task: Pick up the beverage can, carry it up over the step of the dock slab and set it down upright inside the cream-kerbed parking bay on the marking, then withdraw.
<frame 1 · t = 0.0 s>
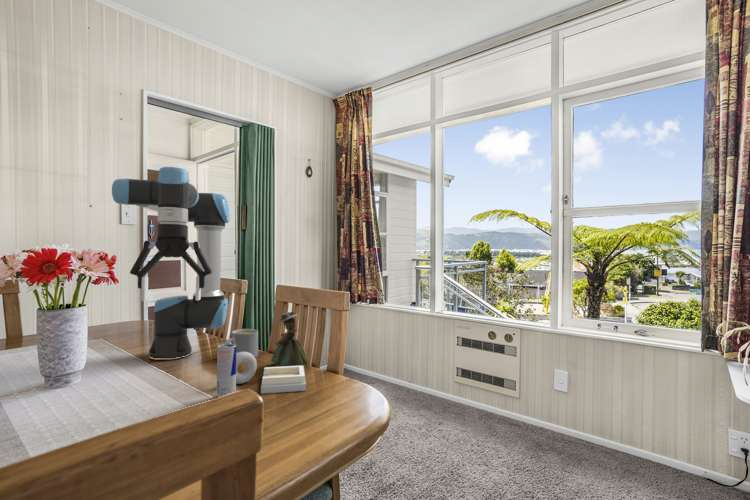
hand: (171, 300, 107), 28 cm above the table, fingers open, 13 cm apart
dock: (283, 383, 123), on the table
coffee mug: (240, 357, 151), on the table
beverage can: (226, 397, 111), on the table
donut: (241, 384, 122), on the table
figurine: (290, 366, 141), on the table
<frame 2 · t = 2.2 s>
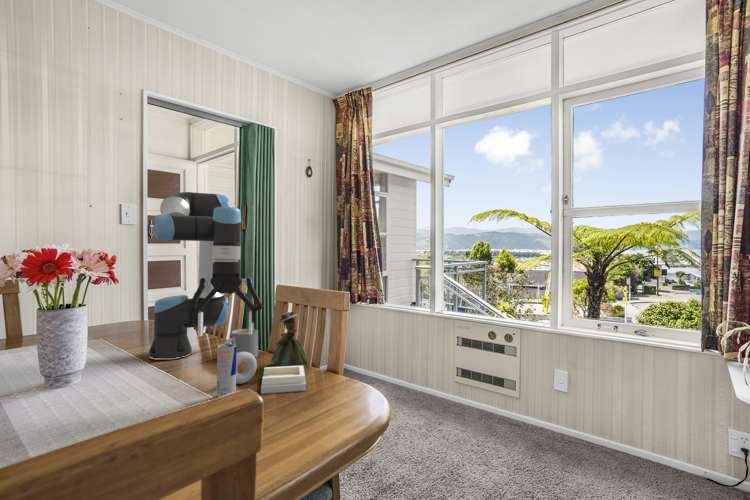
hand: (225, 335, 111), 18 cm above the table, fingers open, 13 cm apart
nothing on the table moved.
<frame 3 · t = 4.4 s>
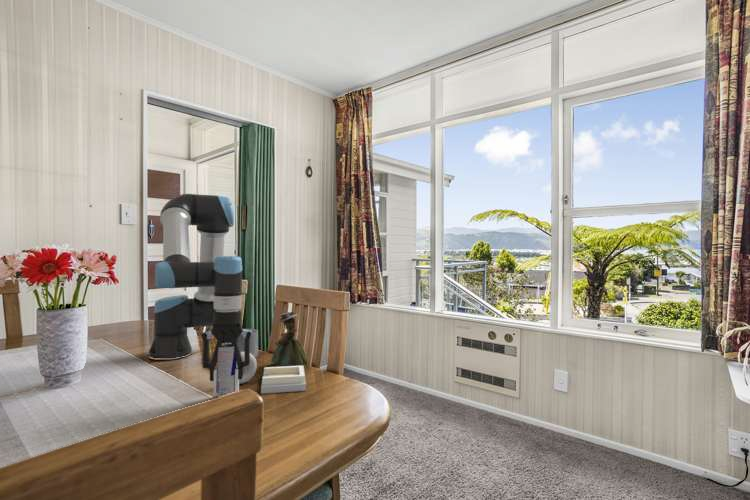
hand: (226, 390, 111), 2 cm above the table, fingers closed on beverage can, 5 cm apart
beverage can: (226, 397, 111), on the table, touching gripper
everything else where it was.
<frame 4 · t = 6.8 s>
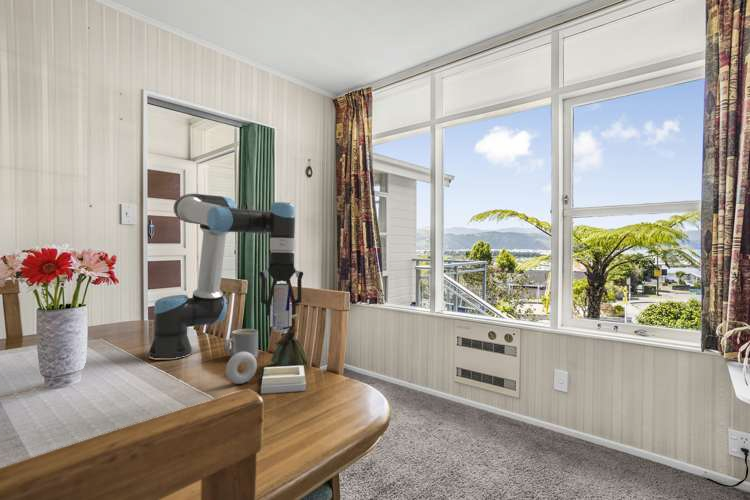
hand: (281, 325, 122), 19 cm above the table, fingers closed on beverage can, 5 cm apart
beverage can: (280, 331, 122), point 17 cm above the table, touching gripper
everything else where it was.
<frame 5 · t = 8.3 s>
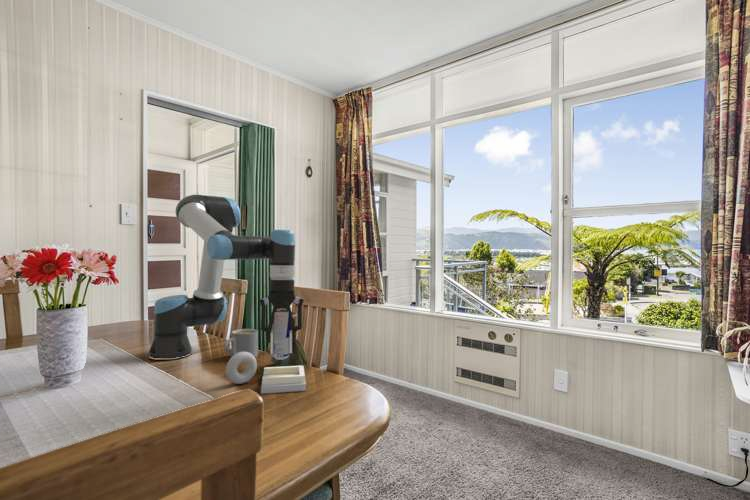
hand: (281, 352, 122), 10 cm above the table, fingers closed on beverage can, 5 cm apart
beverage can: (281, 358, 122), point 8 cm above the table, touching gripper
everything else where it was.
when the fingers open (5 cm above the table, at t = 9.5 s): beverage can drops 1 cm, resting on dock.
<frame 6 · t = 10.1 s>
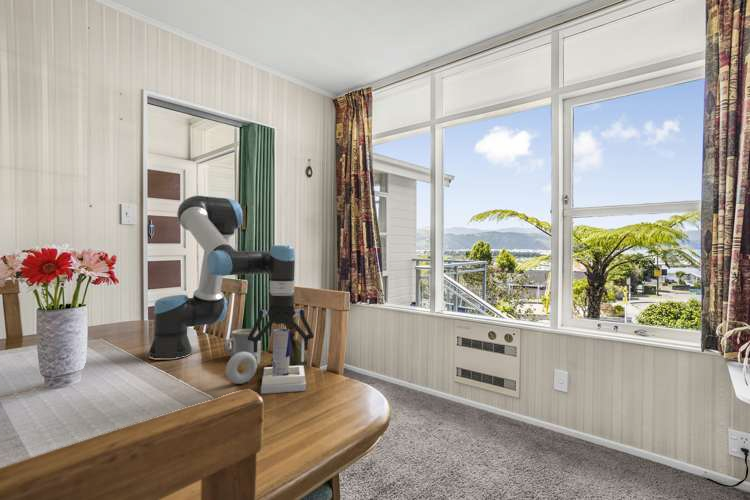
hand: (280, 361, 122), 7 cm above the table, fingers open, 13 cm apart
beverage can: (280, 378, 122), point 2 cm above the table, touching dock
everything else where it was.
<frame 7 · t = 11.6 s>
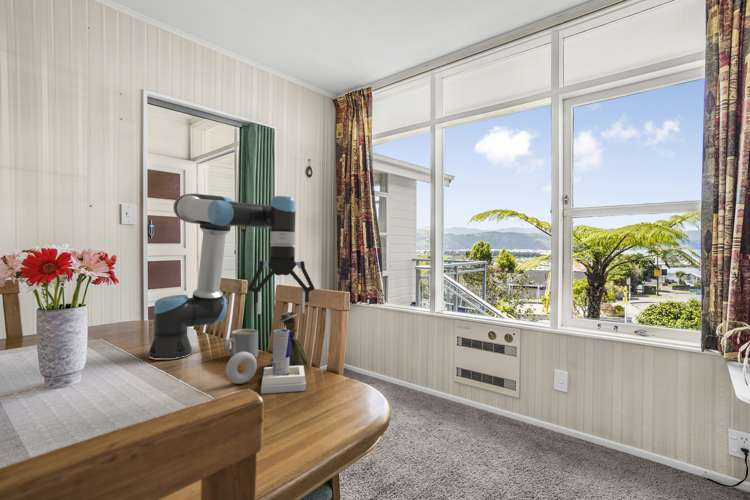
hand: (281, 313, 122), 23 cm above the table, fingers open, 13 cm apart
nothing on the table moved.
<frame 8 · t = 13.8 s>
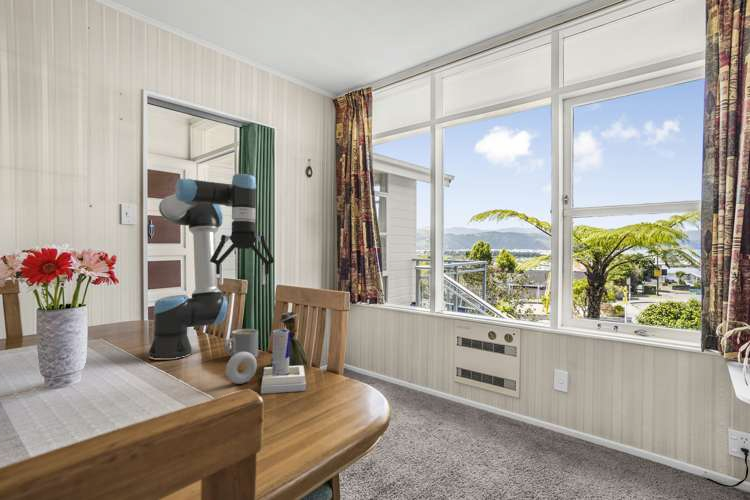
hand: (242, 284, 130), 31 cm above the table, fingers open, 13 cm apart
nothing on the table moved.
at the end: beverage can inside the target area (0.5 cm from its centre), point 2.0 cm above the table; beverage can tilted 1°; the gripper is holding nothing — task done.
